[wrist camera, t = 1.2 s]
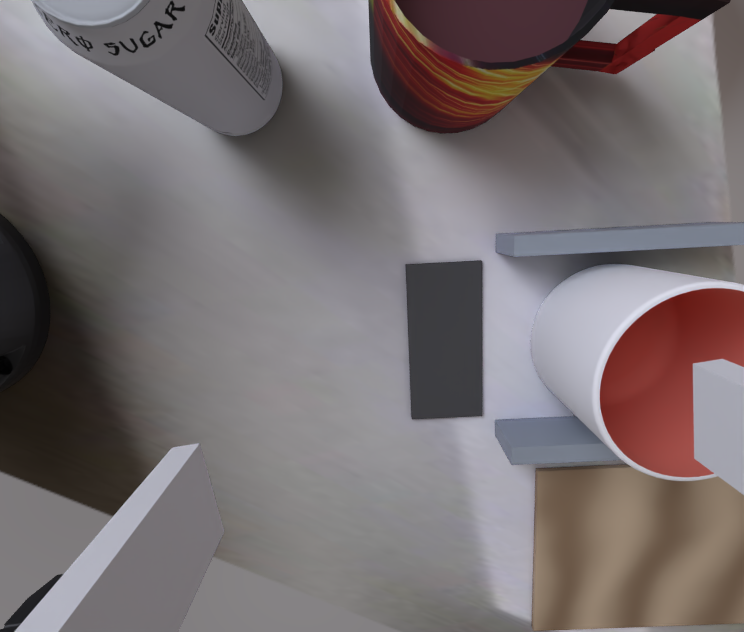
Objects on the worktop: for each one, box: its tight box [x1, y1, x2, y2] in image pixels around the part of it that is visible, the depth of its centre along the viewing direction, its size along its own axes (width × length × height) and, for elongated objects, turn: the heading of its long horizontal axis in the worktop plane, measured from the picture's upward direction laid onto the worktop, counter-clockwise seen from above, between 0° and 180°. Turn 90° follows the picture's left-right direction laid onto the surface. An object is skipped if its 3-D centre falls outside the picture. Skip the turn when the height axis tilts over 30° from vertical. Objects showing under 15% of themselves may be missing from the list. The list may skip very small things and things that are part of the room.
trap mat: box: [406, 261, 482, 419], centre depth 31 cm, size 5×11×1 cm, turn 3°
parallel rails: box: [495, 222, 744, 465], centre depth 29 cm, size 14×14×4 cm
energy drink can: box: [31, 0, 283, 136], centre depth 20 cm, size 6×6×15 cm
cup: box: [530, 264, 744, 481], centre depth 26 cm, size 10×10×10 cm
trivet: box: [532, 464, 744, 631], centre depth 34 cm, size 18×14×1 cm
